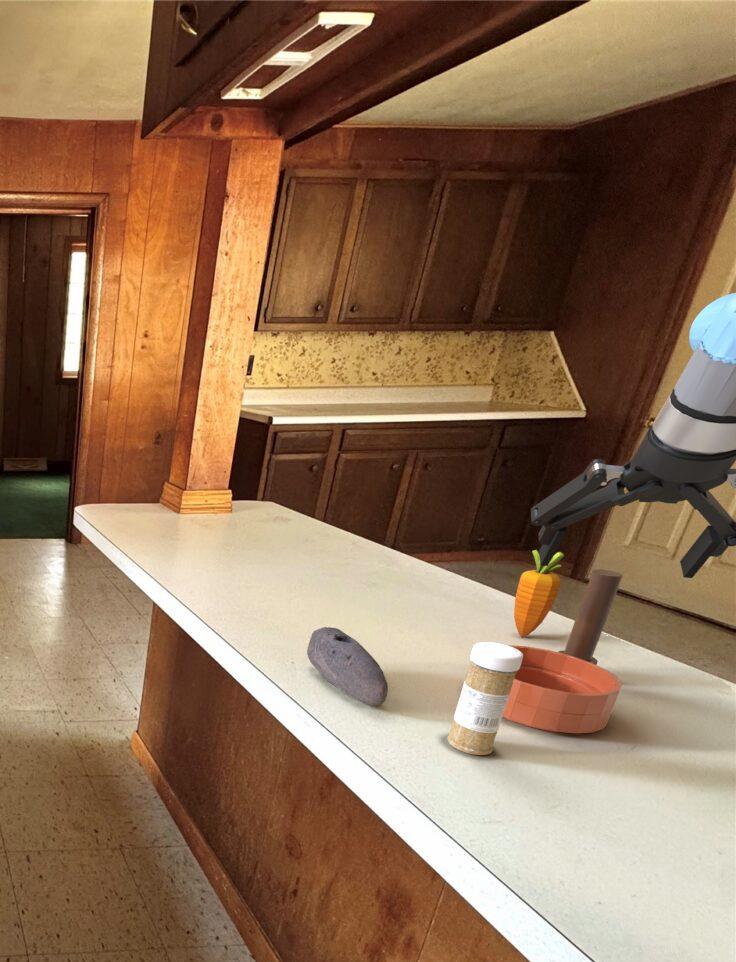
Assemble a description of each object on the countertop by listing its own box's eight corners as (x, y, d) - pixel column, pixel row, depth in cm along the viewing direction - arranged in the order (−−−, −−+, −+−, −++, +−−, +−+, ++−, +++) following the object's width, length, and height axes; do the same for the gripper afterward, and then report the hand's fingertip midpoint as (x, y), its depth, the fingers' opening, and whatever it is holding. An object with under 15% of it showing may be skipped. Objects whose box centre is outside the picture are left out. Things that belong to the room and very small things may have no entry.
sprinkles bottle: (489, 742, 82) (521, 645, 77) (493, 761, 79) (527, 660, 74) (444, 732, 85) (472, 637, 80) (446, 750, 81) (475, 651, 76)
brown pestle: (587, 672, 98) (625, 570, 92) (594, 685, 94) (634, 580, 88) (548, 665, 100) (582, 565, 94) (553, 677, 96) (589, 575, 91)
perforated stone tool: (397, 715, 89) (409, 669, 86) (358, 716, 89) (369, 670, 86) (334, 664, 103) (342, 623, 100) (300, 665, 103) (308, 624, 100)
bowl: (591, 697, 91) (606, 659, 89) (618, 749, 80) (636, 706, 78) (463, 674, 98) (473, 637, 96) (471, 718, 87) (484, 678, 85)
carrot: (495, 630, 112) (521, 545, 106) (528, 631, 111) (556, 545, 106) (515, 642, 107) (543, 555, 102) (549, 643, 107) (580, 555, 101)
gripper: (869, 410, 66) (746, 551, 81) (543, 411, 78) (489, 534, 93) (893, 460, 62) (759, 599, 78) (547, 453, 74) (490, 574, 90)
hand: (611, 563), depth 86 cm, fingers open, 13 cm apart
